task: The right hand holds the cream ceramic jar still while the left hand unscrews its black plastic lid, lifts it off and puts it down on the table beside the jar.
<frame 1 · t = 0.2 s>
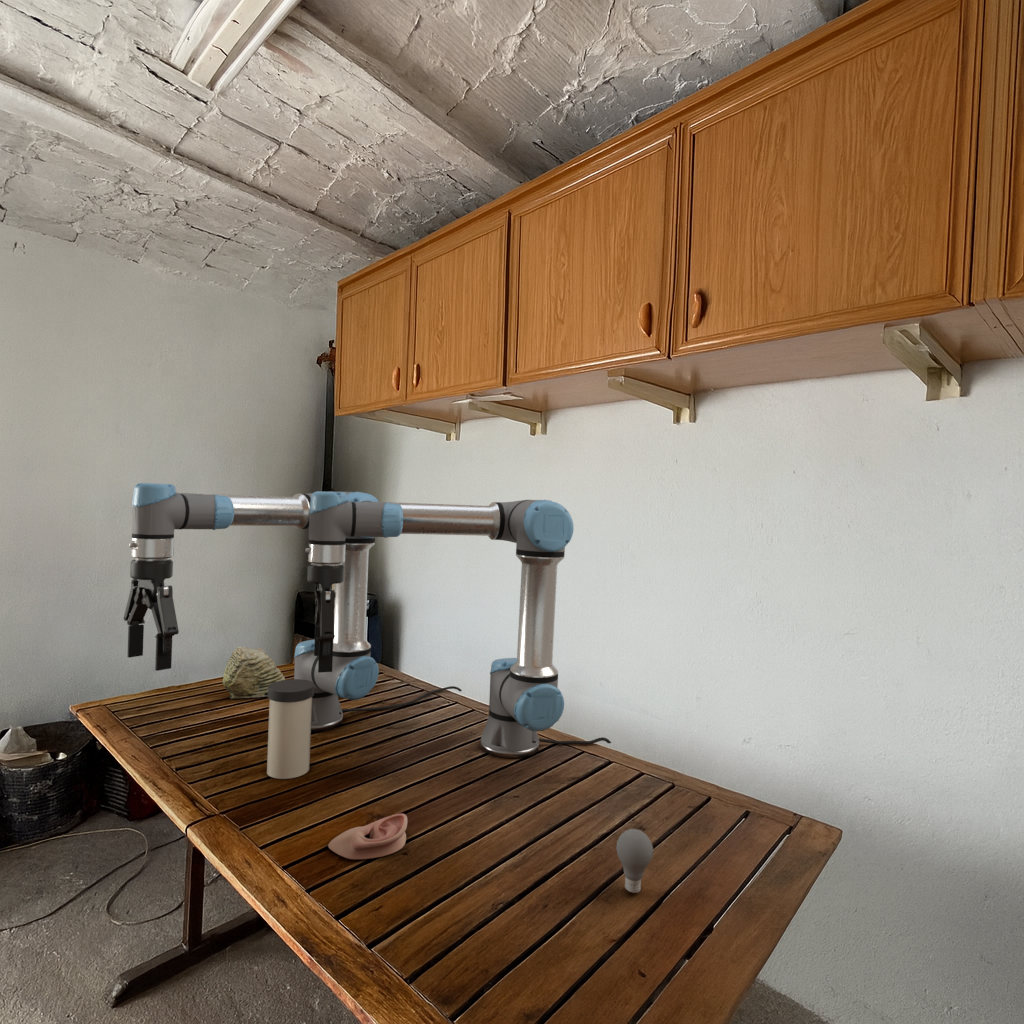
left hand: (148, 662, 129), 28 cm above the table, tool pointing down, fingers open, 13 cm apart
right hand: (322, 663, 135), 28 cm above the table, tool pointing down, fingers open, 13 cm apart
light bulb: (632, 891, 106), on the table
fossil: (254, 694, 198), on the table
anatomical model: (368, 844, 116), on the table
lid: (291, 686, 146), point 19 cm above the table, screwed on, not yet turned
jar: (288, 770, 146), on the table
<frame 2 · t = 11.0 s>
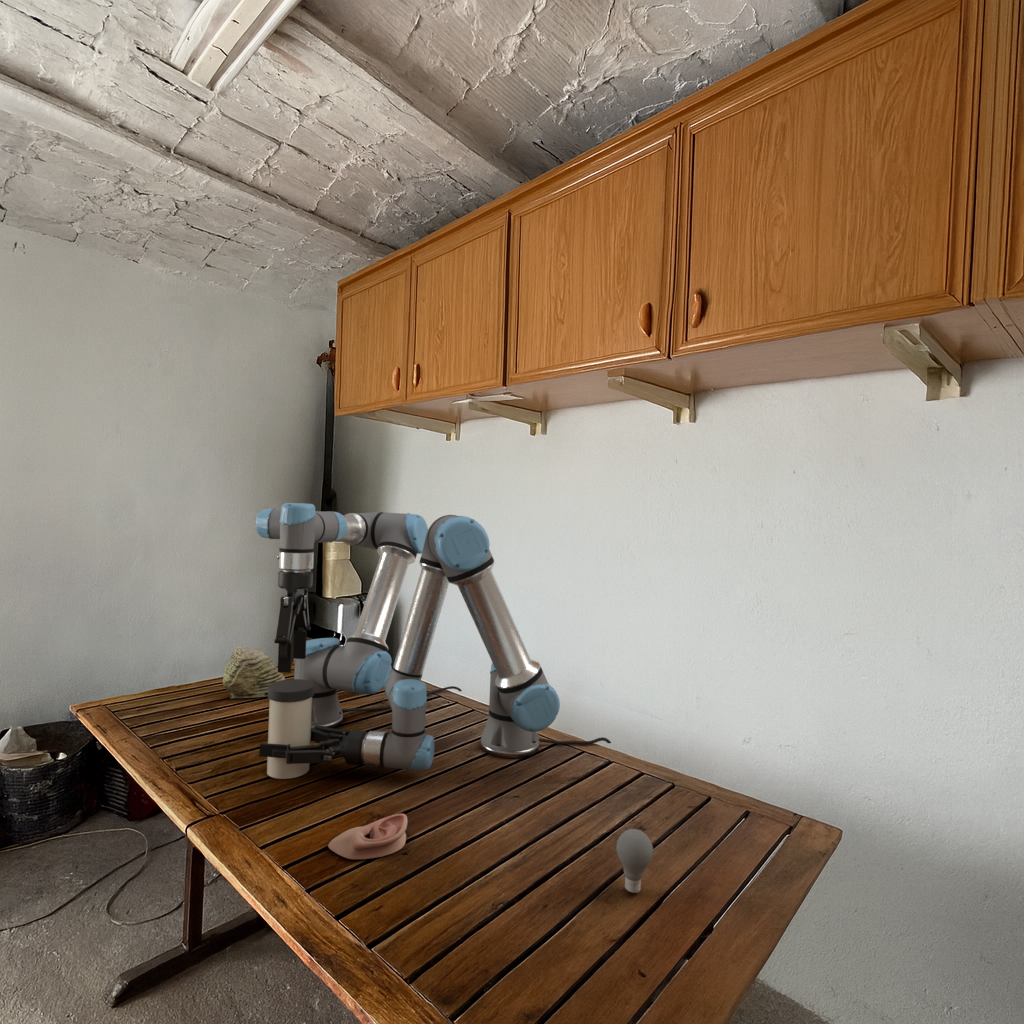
left hand: (292, 665, 145), 24 cm above the table, tool pointing down, fingers open, 11 cm apart
right hand: (270, 741, 146), 6 cm above the table, tool horizontal, fingers closed on jar, 9 cm apart
jar: (288, 770, 146), on the table, touching right hand
everything else where it was.
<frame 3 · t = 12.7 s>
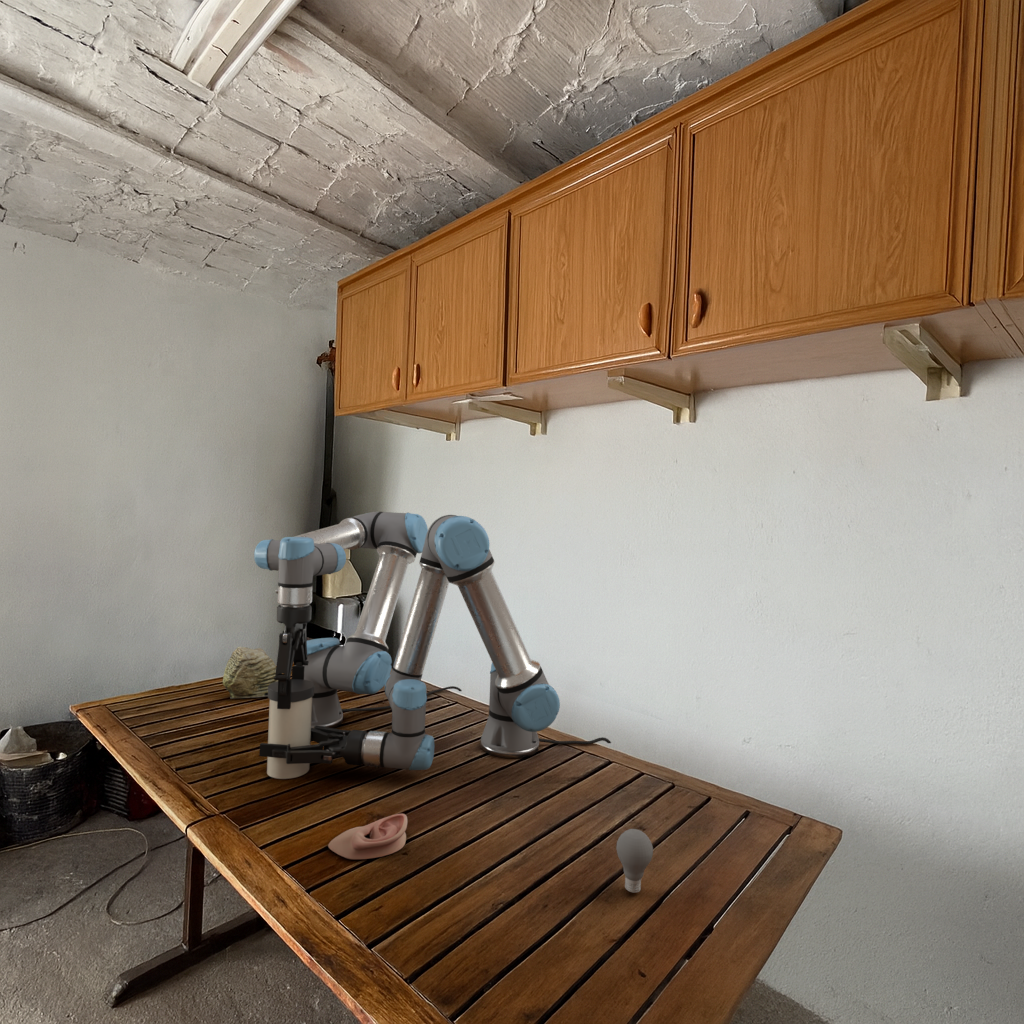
left hand: (290, 700, 146), 16 cm above the table, tool pointing down, fingers closed on lid, 10 cm apart
right hand: (270, 741, 146), 6 cm above the table, tool horizontal, fingers closed on jar, 9 cm apart
lid: (291, 686, 146), point 19 cm above the table, screwed on, not yet turned, touching left hand
jar: (288, 770, 146), on the table, touching right hand
everything else where it was.
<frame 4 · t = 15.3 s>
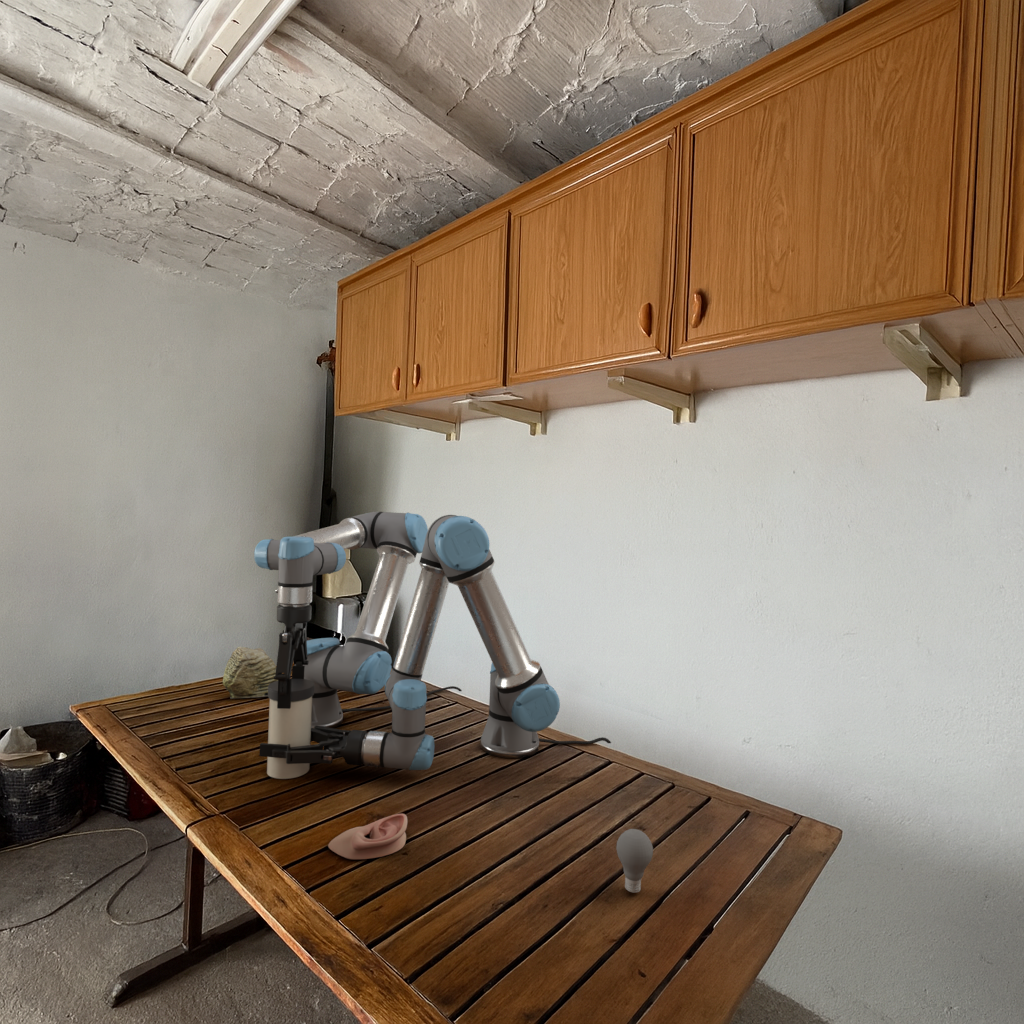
left hand: (290, 700, 146), 16 cm above the table, tool pointing down, fingers closed on lid, 10 cm apart
right hand: (270, 741, 146), 6 cm above the table, tool horizontal, fingers closed on jar, 9 cm apart
lid: (291, 686, 146), point 19 cm above the table, turned 59° so far, risen 0.1 cm, still on its thread, touching left hand
jar: (288, 770, 146), on the table, touching right hand
everything else where it was.
when the left hand's fingers open (0 cm above the table, at t = 21.5 s): lid drops 2 cm, point 2 cm above the table.
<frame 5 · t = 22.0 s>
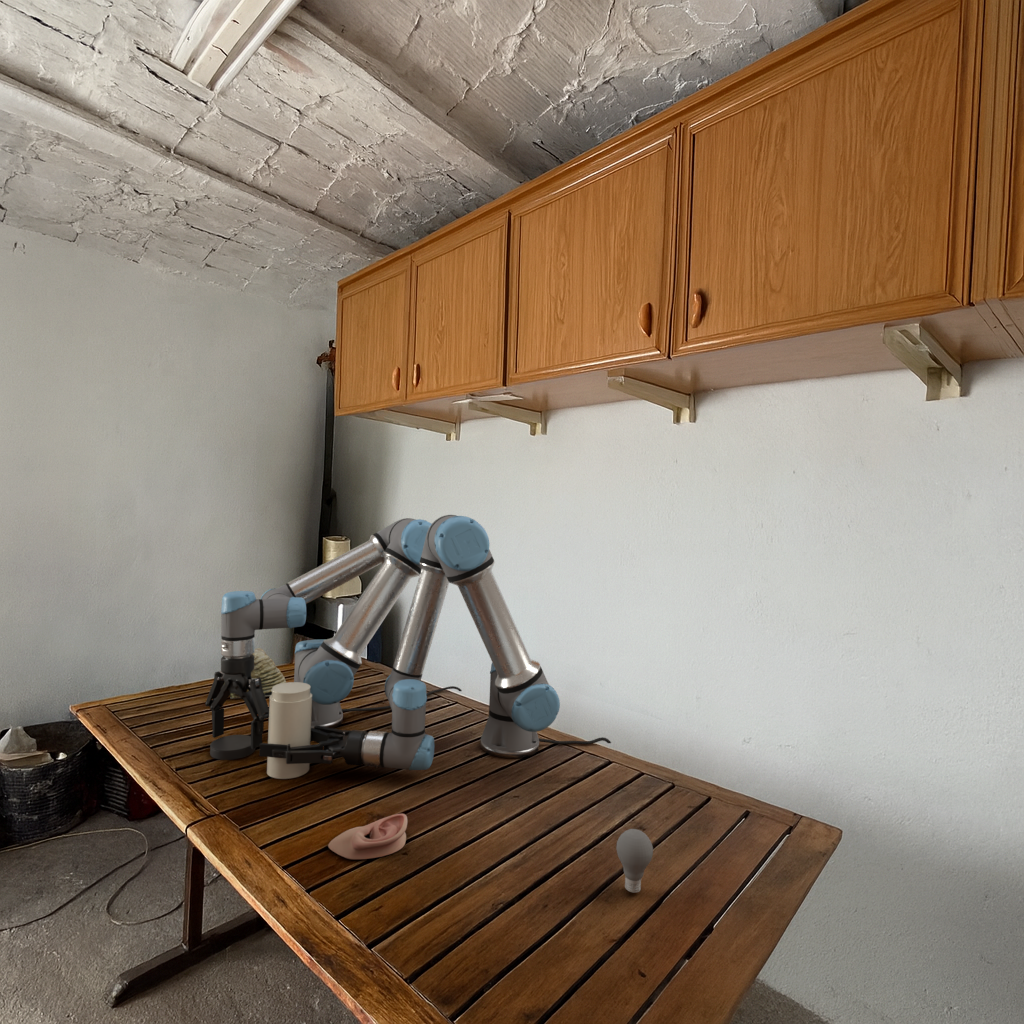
left hand: (236, 741, 155), 2 cm above the table, tool pointing down, fingers open, 13 cm apart
right hand: (270, 741, 146), 6 cm above the table, tool horizontal, fingers closed on jar, 9 cm apart
lid: (233, 743, 155), point 2 cm above the table, off its thread
jar: (288, 770, 146), on the table, touching right hand
everything else where it was.
when the right hand's fingers open (6 cm above the table, at t = 22.6 s): jar stays where it is, on the table.
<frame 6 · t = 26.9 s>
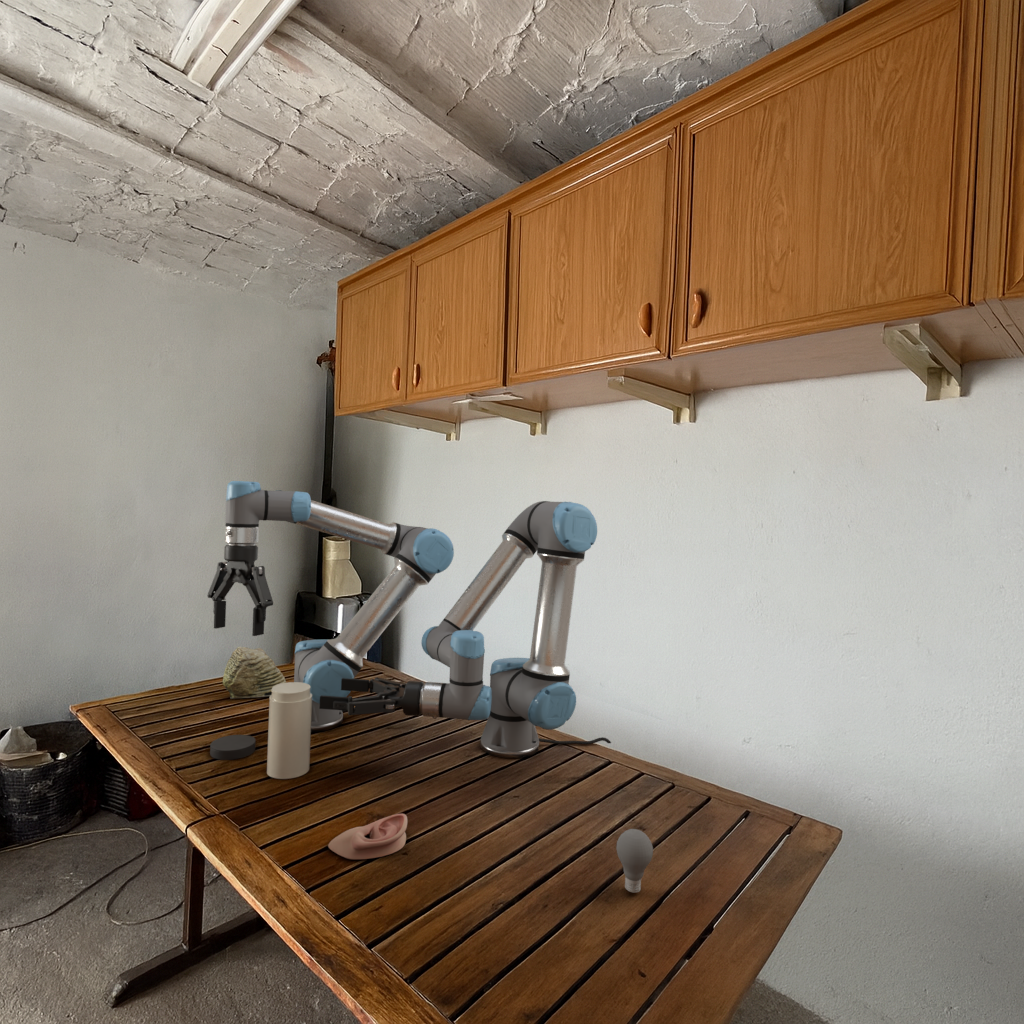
left hand: (238, 631, 154), 29 cm above the table, tool pointing down, fingers open, 13 cm apart
right hand: (331, 692, 145), 19 cm above the table, tool horizontal, fingers open, 13 cm apart
jar: (288, 770, 146), on the table
everything else where it was.
at the end: lid came off its thread; lid point 1.9 cm above the table; the left hand is holding nothing; the right hand is holding nothing; jar tilted 0°; jar moved 0.0 cm from its start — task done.
